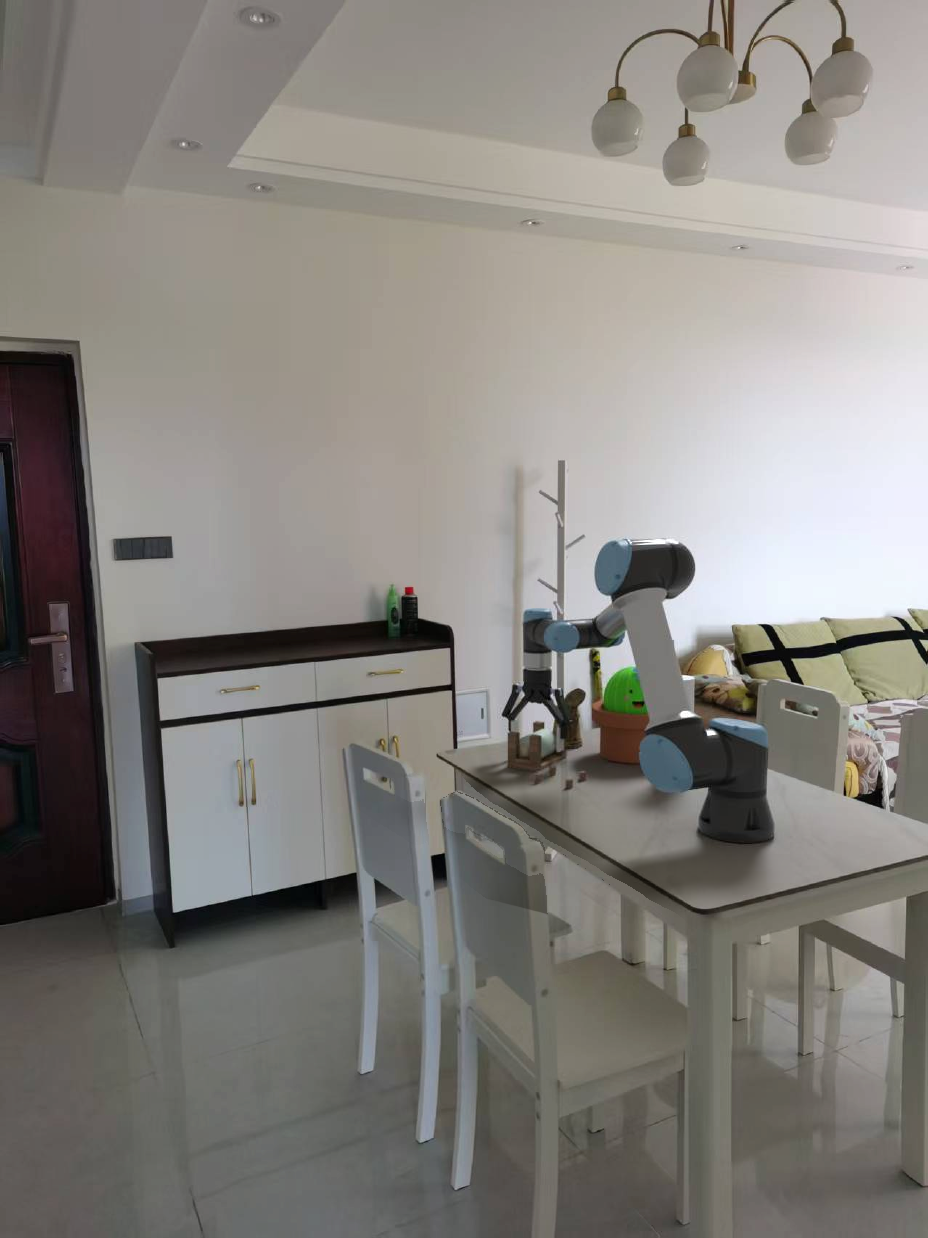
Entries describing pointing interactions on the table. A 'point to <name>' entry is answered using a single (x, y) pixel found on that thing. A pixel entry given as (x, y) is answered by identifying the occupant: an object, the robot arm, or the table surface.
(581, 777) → the wooden cubes
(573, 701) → the wooden mug
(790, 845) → the table surface
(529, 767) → the roll holder
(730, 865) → the table surface
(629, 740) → the potted cactus
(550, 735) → the paper roll
